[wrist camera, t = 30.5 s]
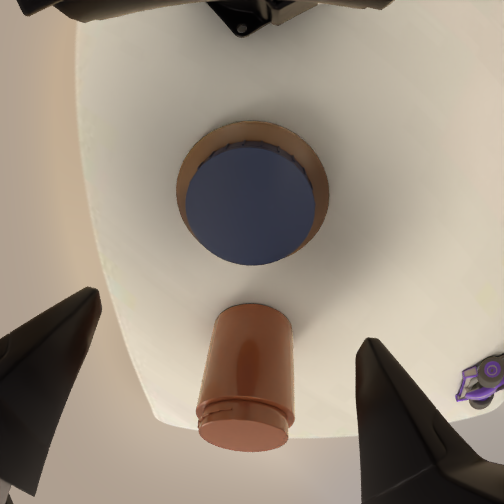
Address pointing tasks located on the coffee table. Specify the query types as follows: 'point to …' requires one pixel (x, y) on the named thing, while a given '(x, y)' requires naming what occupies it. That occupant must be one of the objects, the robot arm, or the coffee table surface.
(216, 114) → the coffee table surface
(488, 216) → the coffee table surface
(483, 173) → the coffee table surface
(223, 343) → the jar
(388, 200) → the coffee table surface
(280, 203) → the jar lid
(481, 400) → the toy race car
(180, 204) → the coaster
